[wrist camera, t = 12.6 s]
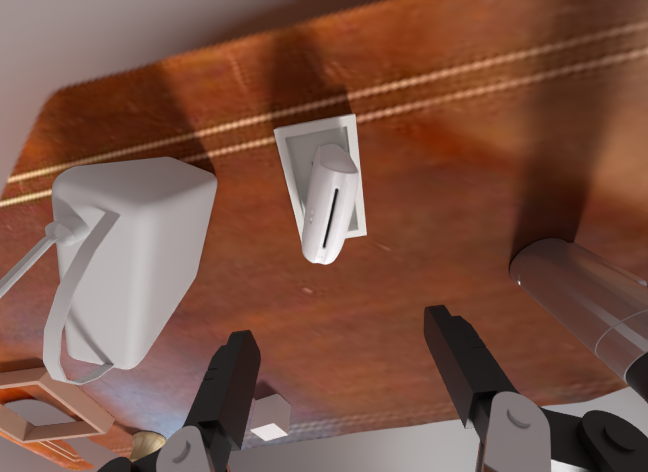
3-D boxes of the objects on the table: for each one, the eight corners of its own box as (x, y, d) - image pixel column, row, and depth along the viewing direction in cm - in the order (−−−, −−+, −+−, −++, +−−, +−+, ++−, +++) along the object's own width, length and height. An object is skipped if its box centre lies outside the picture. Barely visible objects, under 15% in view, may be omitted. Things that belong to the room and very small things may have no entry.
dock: (352, 113, 28) (355, 114, 26) (363, 226, 35) (366, 235, 33) (277, 127, 29) (273, 129, 26) (303, 236, 36) (302, 245, 34)
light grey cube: (256, 399, 57) (249, 430, 52) (277, 392, 56) (273, 423, 51) (270, 411, 60) (265, 441, 54) (291, 405, 59) (288, 434, 53)
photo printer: (333, 221, 34) (340, 277, 23) (303, 216, 34) (295, 270, 23) (351, 146, 29) (370, 172, 18) (316, 139, 29) (315, 161, 18)
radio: (156, 132, 29) (-363, 226, 7) (226, 161, 30) (-11, 308, 9) (142, 269, 38) (-93, 492, 16) (196, 285, 40) (48, 505, 18)
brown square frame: (53, 365, 49) (38, 380, 47) (115, 419, 60) (106, 433, 57) (-43, 378, 51) (-63, 393, 48) (35, 428, 61) (22, 443, 58)
